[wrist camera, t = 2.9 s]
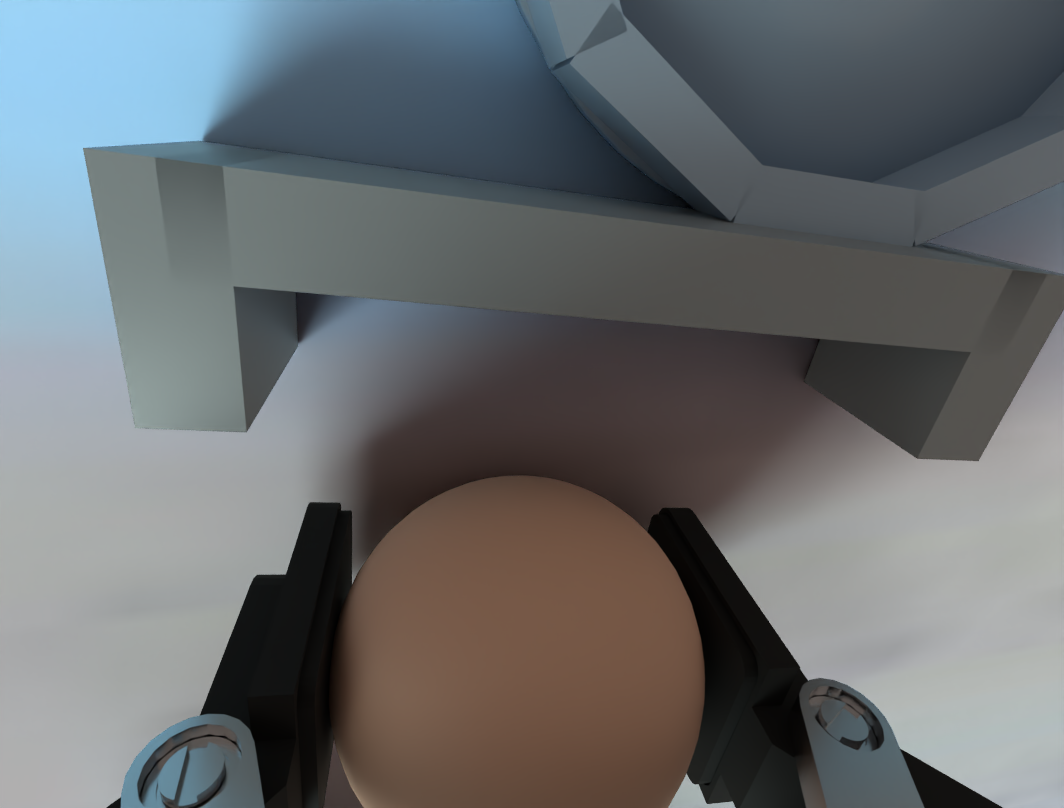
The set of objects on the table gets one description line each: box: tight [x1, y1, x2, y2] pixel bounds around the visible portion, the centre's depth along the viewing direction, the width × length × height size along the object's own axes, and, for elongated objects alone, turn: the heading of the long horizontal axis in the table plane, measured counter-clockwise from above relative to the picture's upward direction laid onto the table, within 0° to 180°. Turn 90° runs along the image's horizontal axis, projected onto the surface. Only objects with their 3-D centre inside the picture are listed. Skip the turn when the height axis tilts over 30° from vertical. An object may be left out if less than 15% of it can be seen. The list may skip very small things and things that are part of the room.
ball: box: [329, 475, 705, 808], centre depth 9 cm, size 6×6×6 cm
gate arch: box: [83, 141, 1064, 461], centre depth 8 cm, size 3×12×3 cm, turn 82°
